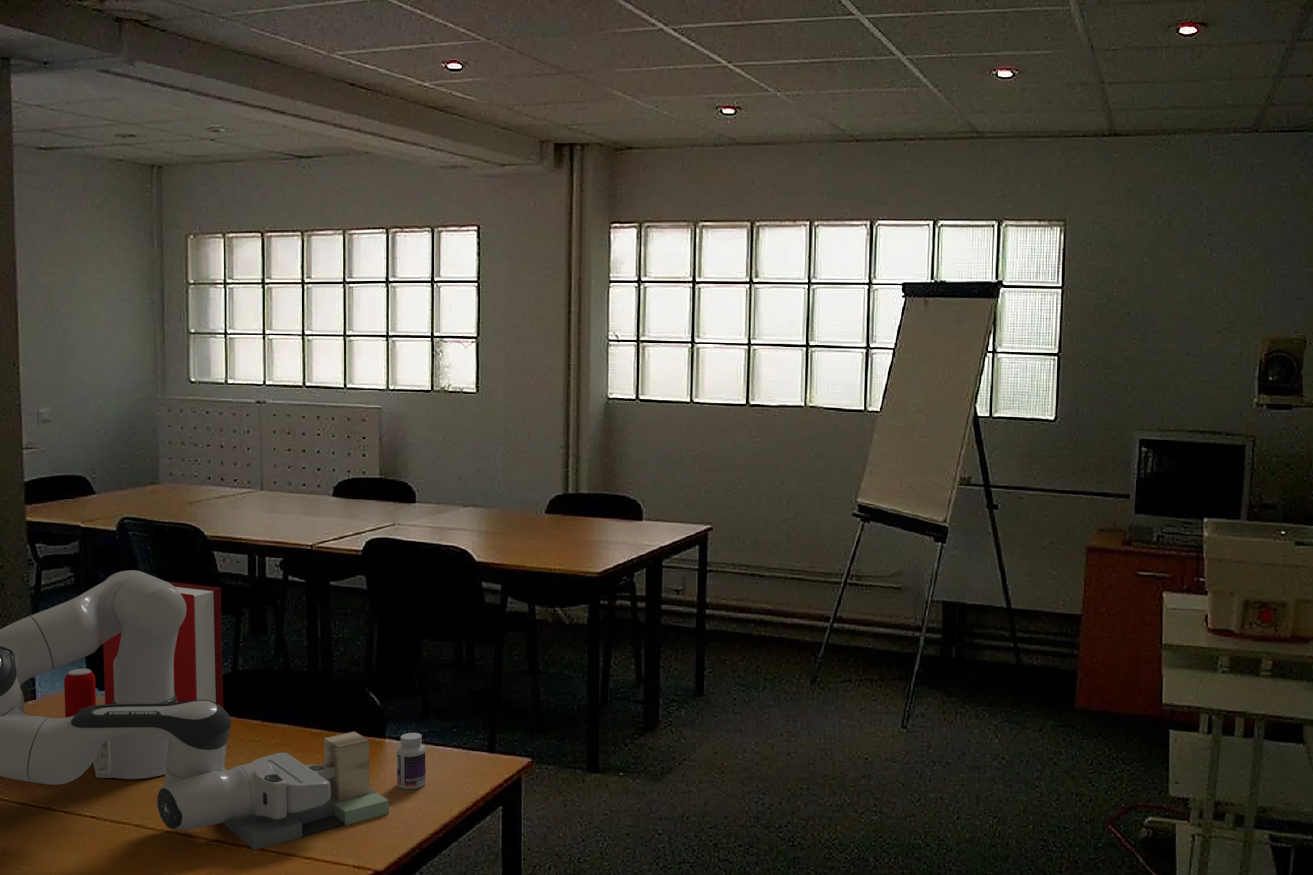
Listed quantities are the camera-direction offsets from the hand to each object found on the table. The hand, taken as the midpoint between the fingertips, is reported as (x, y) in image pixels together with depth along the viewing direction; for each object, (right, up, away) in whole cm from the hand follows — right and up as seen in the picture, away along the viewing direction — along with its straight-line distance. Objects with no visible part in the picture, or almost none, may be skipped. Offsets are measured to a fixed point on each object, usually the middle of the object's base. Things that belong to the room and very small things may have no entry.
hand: (332, 769), depth 220 cm
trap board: (-4, -8, -3) cm, 9 cm away
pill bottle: (+12, -7, +13) cm, 19 cm away
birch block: (+2, -5, +3) cm, 6 cm away
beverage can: (-68, -3, +47) cm, 83 cm away
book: (-49, -3, +44) cm, 66 cm away
